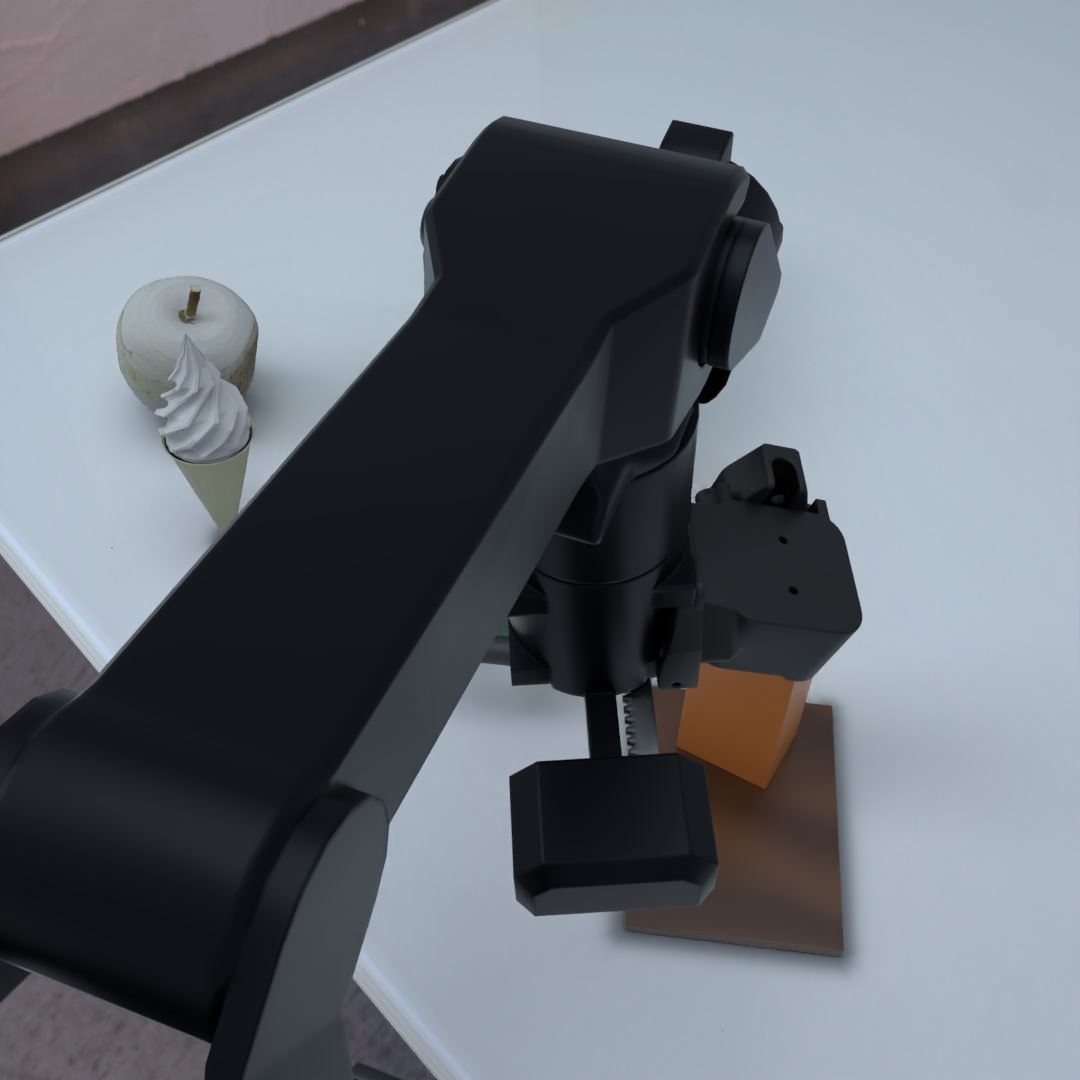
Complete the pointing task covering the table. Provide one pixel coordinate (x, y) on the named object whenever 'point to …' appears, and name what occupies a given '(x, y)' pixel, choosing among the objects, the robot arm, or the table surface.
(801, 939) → the board
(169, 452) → the ice cream cone
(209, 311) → the decorative object
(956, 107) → the table surface
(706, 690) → the orange rectangular prism
